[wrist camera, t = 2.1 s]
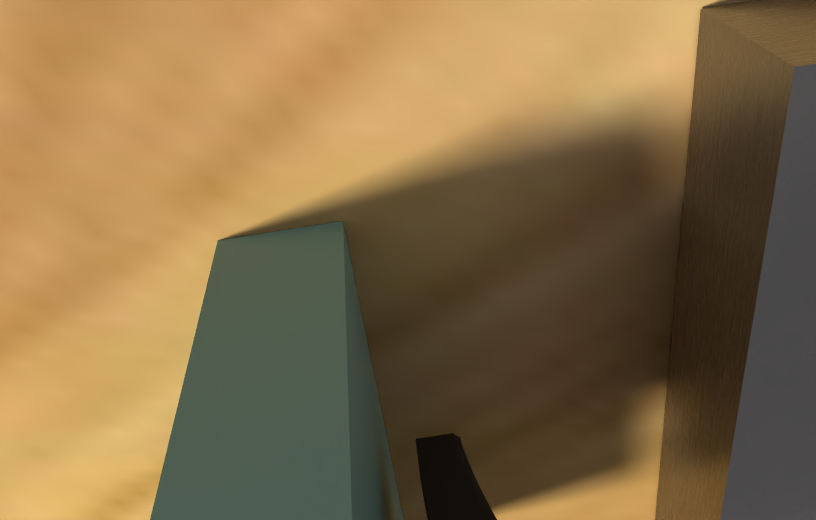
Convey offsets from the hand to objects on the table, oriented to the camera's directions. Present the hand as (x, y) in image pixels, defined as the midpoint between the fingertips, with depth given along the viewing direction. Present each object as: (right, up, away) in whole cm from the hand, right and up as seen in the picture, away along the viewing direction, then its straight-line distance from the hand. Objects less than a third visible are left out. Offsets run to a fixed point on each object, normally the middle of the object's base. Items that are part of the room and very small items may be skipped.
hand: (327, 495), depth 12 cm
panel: (0, +1, +2) cm, 2 cm away
